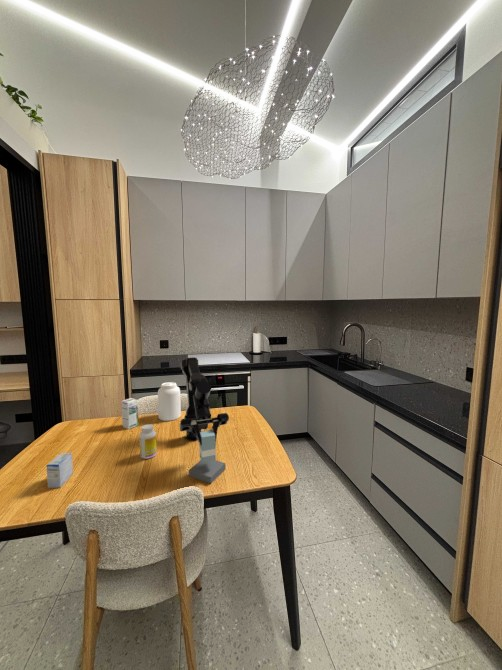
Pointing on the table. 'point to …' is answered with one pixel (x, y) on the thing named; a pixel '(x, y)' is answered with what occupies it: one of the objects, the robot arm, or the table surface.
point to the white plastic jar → (169, 402)
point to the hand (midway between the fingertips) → (208, 443)
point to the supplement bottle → (147, 442)
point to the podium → (207, 470)
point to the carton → (207, 446)
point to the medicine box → (59, 470)
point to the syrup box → (129, 413)
